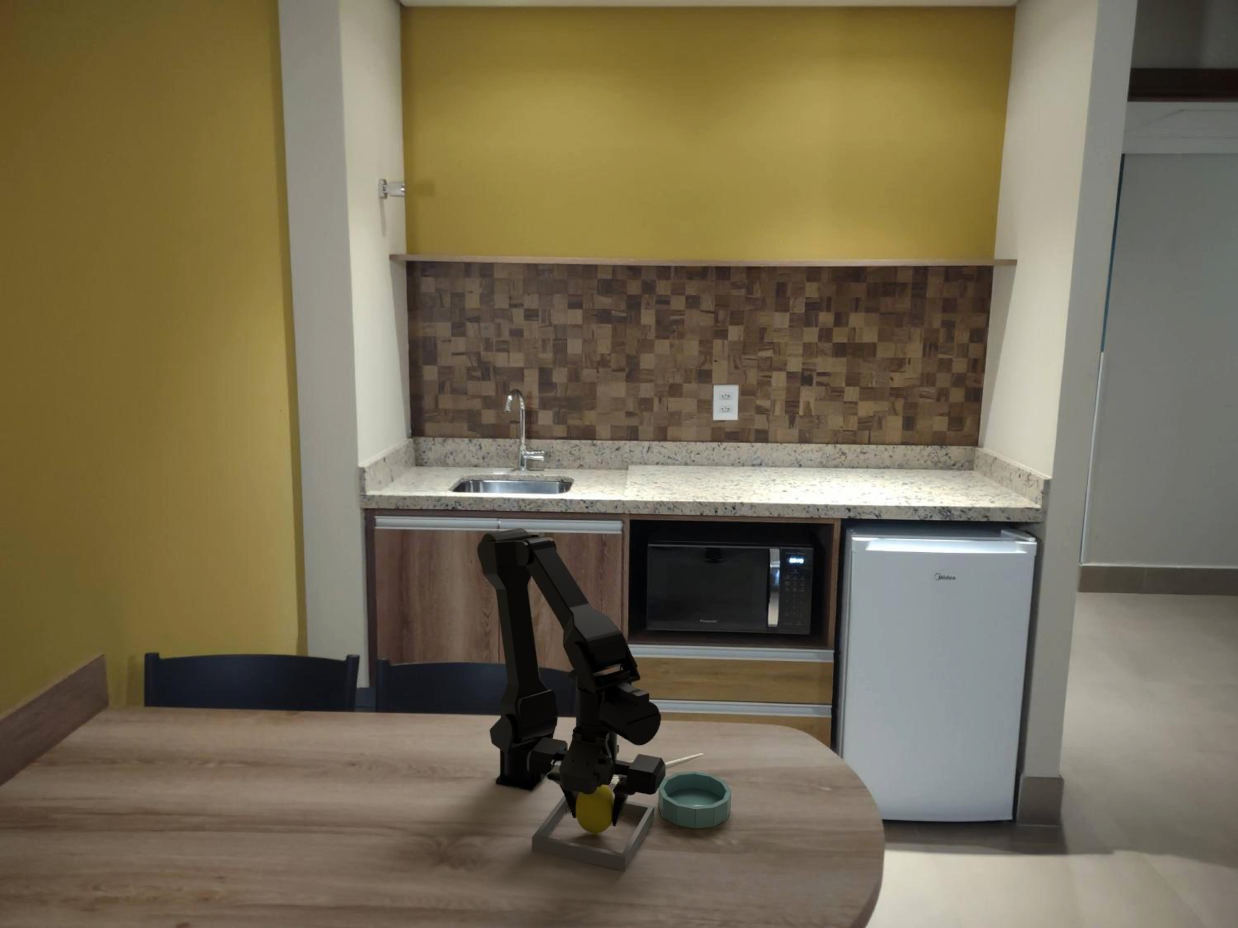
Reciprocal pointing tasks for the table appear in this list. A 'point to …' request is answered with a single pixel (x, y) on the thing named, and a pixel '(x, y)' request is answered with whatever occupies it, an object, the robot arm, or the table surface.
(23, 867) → the table surface
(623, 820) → the table surface
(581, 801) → the lemon
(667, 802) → the bowl
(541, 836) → the parts tray
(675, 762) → the fork
